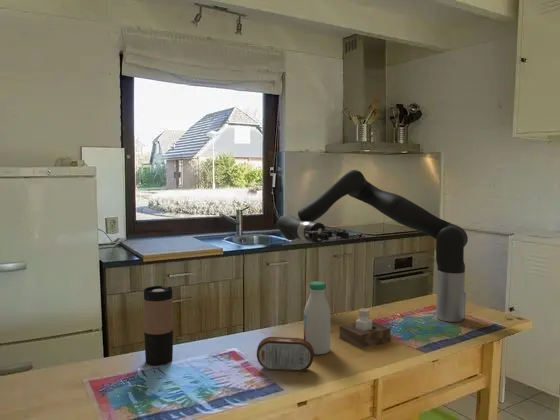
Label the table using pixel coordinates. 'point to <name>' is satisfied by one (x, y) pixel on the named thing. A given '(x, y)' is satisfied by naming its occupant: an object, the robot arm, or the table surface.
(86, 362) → the table surface
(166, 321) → the travel mug
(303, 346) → the tin
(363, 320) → the salt shaker
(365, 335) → the walnut stand
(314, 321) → the milk bottle
